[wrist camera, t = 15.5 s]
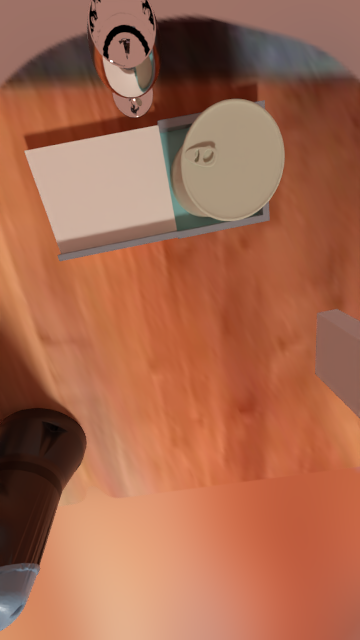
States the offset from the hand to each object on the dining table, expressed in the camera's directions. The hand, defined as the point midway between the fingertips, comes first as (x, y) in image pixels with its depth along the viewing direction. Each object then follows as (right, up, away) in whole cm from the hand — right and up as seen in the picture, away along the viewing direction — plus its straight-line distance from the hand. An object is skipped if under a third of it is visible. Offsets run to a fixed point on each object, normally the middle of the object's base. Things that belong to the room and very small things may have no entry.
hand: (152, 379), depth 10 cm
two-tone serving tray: (-2, +19, +23) cm, 30 cm away
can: (+4, +20, +23) cm, 31 cm away
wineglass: (-4, +27, +19) cm, 34 cm away
